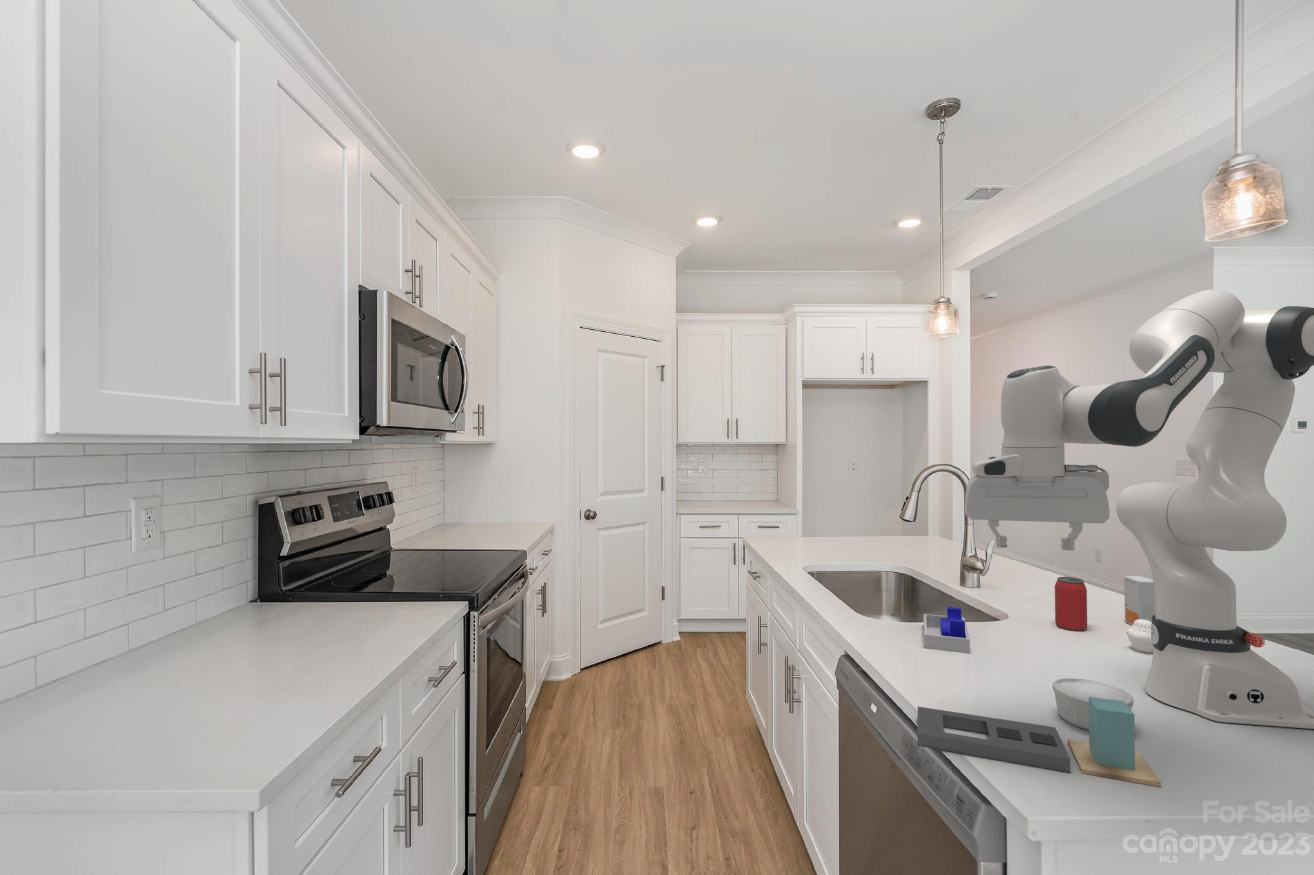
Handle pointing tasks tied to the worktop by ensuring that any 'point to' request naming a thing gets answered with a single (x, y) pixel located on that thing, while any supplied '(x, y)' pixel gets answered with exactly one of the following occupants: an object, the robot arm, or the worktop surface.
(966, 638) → the clip tray
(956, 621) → the cable clip
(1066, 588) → the beer can
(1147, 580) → the skincare box
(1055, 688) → the ramekin
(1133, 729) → the upright teal block
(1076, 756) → the pad
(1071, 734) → the worktop surface
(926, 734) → the grey slotted board
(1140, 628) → the muffin
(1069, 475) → the robot arm
